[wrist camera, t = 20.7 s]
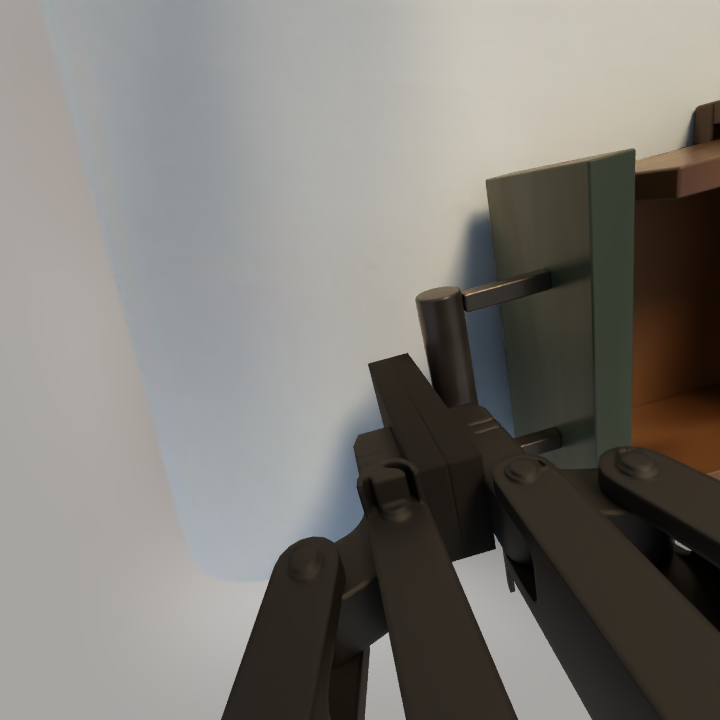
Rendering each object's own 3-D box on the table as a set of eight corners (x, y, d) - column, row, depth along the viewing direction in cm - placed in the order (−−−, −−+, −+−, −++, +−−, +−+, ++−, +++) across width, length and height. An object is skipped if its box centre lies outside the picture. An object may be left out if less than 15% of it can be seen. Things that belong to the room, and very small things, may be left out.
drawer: (433, 476, 19) (484, 580, 14) (376, 208, 15) (418, 205, 9) (773, 377, 20) (950, 438, 14) (819, 91, 15) (1102, 23, 10)
